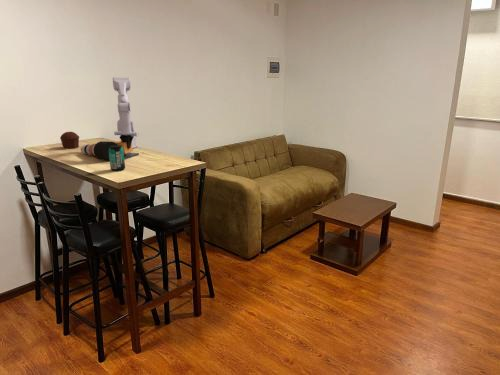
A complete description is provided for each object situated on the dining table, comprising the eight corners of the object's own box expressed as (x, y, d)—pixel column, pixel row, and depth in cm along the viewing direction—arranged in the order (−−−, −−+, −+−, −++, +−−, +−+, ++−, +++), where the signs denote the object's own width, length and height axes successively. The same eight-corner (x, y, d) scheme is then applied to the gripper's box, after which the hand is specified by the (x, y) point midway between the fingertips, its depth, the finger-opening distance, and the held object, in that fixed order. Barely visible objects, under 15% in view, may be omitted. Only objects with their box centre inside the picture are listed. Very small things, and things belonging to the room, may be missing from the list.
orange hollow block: (121, 150, 231) (120, 140, 229) (132, 151, 229) (131, 141, 227) (113, 153, 224) (112, 142, 222) (125, 153, 222) (123, 143, 220)
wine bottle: (87, 159, 240) (92, 143, 242) (116, 162, 218) (122, 145, 219) (71, 154, 233) (76, 138, 234) (100, 156, 211) (105, 138, 212)
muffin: (60, 147, 254) (58, 131, 251) (78, 145, 260) (76, 130, 257) (63, 150, 244) (60, 134, 241) (82, 148, 250) (80, 132, 247)
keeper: (122, 153, 235) (122, 146, 234) (138, 154, 232) (138, 147, 231) (107, 158, 222) (107, 151, 221) (124, 159, 219) (123, 152, 218)
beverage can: (126, 167, 202) (124, 144, 198) (123, 171, 195) (120, 147, 191) (113, 168, 201) (110, 144, 198) (108, 171, 195) (106, 147, 191)
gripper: (110, 124, 219) (112, 148, 223) (132, 125, 215) (134, 150, 219) (117, 123, 226) (120, 146, 230) (139, 124, 222) (141, 148, 225)
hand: (127, 148), depth 225 cm, fingers closed on orange hollow block
